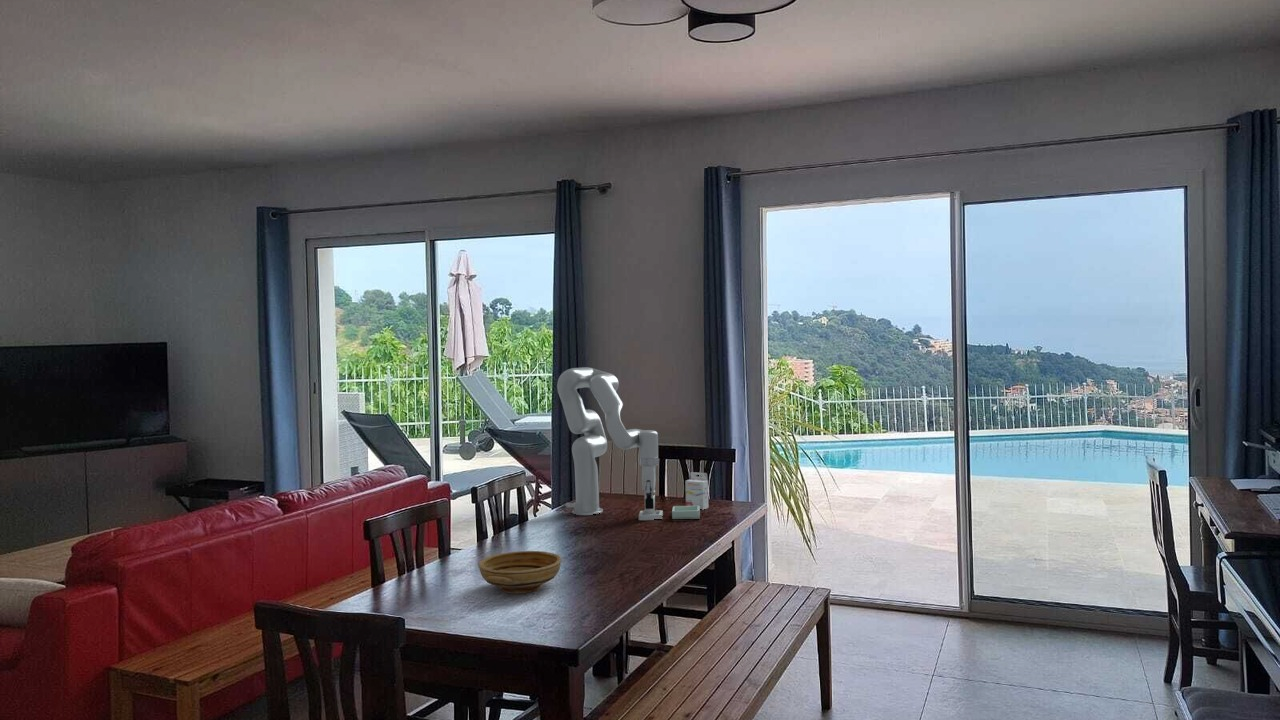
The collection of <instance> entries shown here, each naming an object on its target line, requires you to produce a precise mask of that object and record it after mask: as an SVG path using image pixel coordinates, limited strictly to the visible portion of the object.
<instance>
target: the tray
mask: <svg viewBox="0 0 1280 720" xmlns="http://www.w3.org/2000/svg"><path fill="white" fill-rule="evenodd" d="M671 518H672V519H701V510H700V506H686V505H673V506H672V510H671Z"/></svg>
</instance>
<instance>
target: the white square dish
mask: <svg viewBox="0 0 1280 720" xmlns="http://www.w3.org/2000/svg"><path fill="white" fill-rule="evenodd" d="M644 512H645V510H640V511H639V513H638V521H655V520H654V519H662V520H663V517H664V516H663V515H664V511H663V510H657V509H656V510H655V512H656V515H644ZM662 516H663V517H662Z"/></svg>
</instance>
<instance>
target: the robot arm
mask: <svg viewBox="0 0 1280 720" xmlns="http://www.w3.org/2000/svg"><path fill="white" fill-rule="evenodd" d="M619 386H620V383H619V379H618V378H617V376H615V374H613V373H610V372H607V371H604V370H603V371H602V370H599V369H596V368H593V367H587V366H585V367H584V366H583V367H572V368H568V369H566V370H565V371H563V372H562V373H561V374H560V375H559V377H558V380H557V384H556V388H557V394H558V395H559V399H560V402H561V404H562V408H563V411H564V415H565V419H566V422H567V425H568V428H569V431H570V432H571V433H572V434H574V435H580V434H583V435H584V436H581V437H577V438H576V439H575V440H574V441H573V443H572V446H571V453H572V457H573V464H574V465H573V466H574V483H575V502H572V503H570V502H566V503H565V509H572V514H573V515H575V514H576V515H575V516H594V515H593V514H596V515H600V514H602V513H604V509H603V508H602V507H600V494H599V492H600V491H599V490H600V489H599V469H598V464H597V461H596V458H598V457H600V456H603V455H604V454H605V453H606V452H607V450H608V440H607V436H606V433H605V432H606V431H605V429H604V425H603V423H602V420H601V417H600V416H599V414H598V413H597V412H596V411H595V410H592V409H586V408H585V404H584V401H583V398H582V396H581V395H580V394H579V392H578V389H584V388H589V389H590V392H591V393H592V395H593V396H594V398H595V399H596V401H597V403H598V405H599V407H600V408H601V410H602V411H603V414H604V418H605V419H604V420H605V427H606V430H607V432H608V434H609V436H610V438H611V439H612V441H613V443H614V444H615V446H617V448H619V449H620V450H623V451H625V450H630V449H635V448H638V449H639V450H638V453H639V460H638V461H639V466H640V467H641V491H642V492H644V490H646V491H645V492H646V499H645V498H644V509H645V508H646V509H653V508H654V506H653V491H654V490H656V489H655V488H656V471H657V470H656V469H657V468H656V467H657V466H659V435H658V434H659V433H658V432H657V431H656V430H652V429H646V430H644V429H641V428H640V429H639V428H630V429H626V427H625V425H624V424H623V422H622V420H621V411H622V409H623V407H624V402H623V401H622V399H621V398H620V396H619V394H618V393H617V391H618V389H619ZM650 489H651V491H650ZM650 492H651V493H650ZM599 513H600V514H599Z"/></svg>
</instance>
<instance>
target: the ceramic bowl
mask: <svg viewBox="0 0 1280 720" xmlns="http://www.w3.org/2000/svg"><path fill="white" fill-rule="evenodd" d="M562 561H563V558H562V557H561V556H560V555H559V554H556V553H554V552H550V551H549V552H548V551H541V550H540V551H539V550H518V551H511V552H509V551H508V552H504V553H503V552H502V553H498V554H494V555H490V556H487V557H484V558H483V559H481V560H479V562H478V563H477V566H478V568H479V572H480V573H479V574H480V576H481V577H482V578H483V580H485V582H487V583H488V584H489V585H492V586H494V587H498V588H500V589H501V590H502V591H503V592H504V593H507V592H509V593H508V594H528V593H532V591H533V592H535V590H536V591H537V590H539V589H540V588H541V586H542V585H544V584H546V583H548V582H550V581H552V580H553V579H555V577H556V576H557V575H558V573H559V571H560V568H561V565H562ZM527 592H528V593H527Z"/></svg>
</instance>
